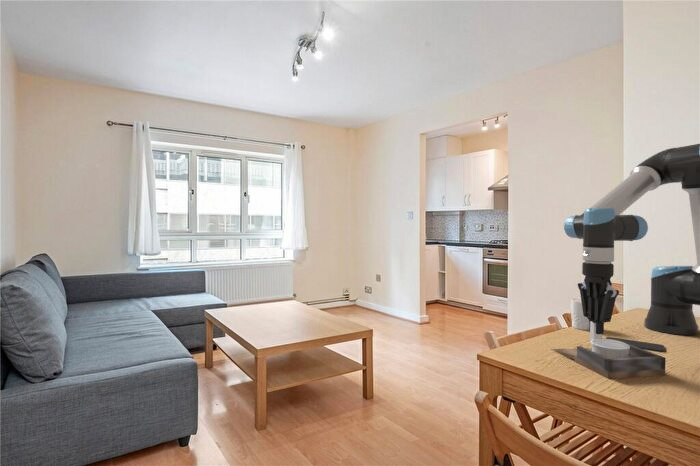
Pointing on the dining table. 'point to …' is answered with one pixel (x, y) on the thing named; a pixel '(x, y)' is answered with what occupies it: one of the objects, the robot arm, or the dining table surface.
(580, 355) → the dock
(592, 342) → the ramekin
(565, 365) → the dining table surface
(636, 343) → the phone
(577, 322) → the white cup
